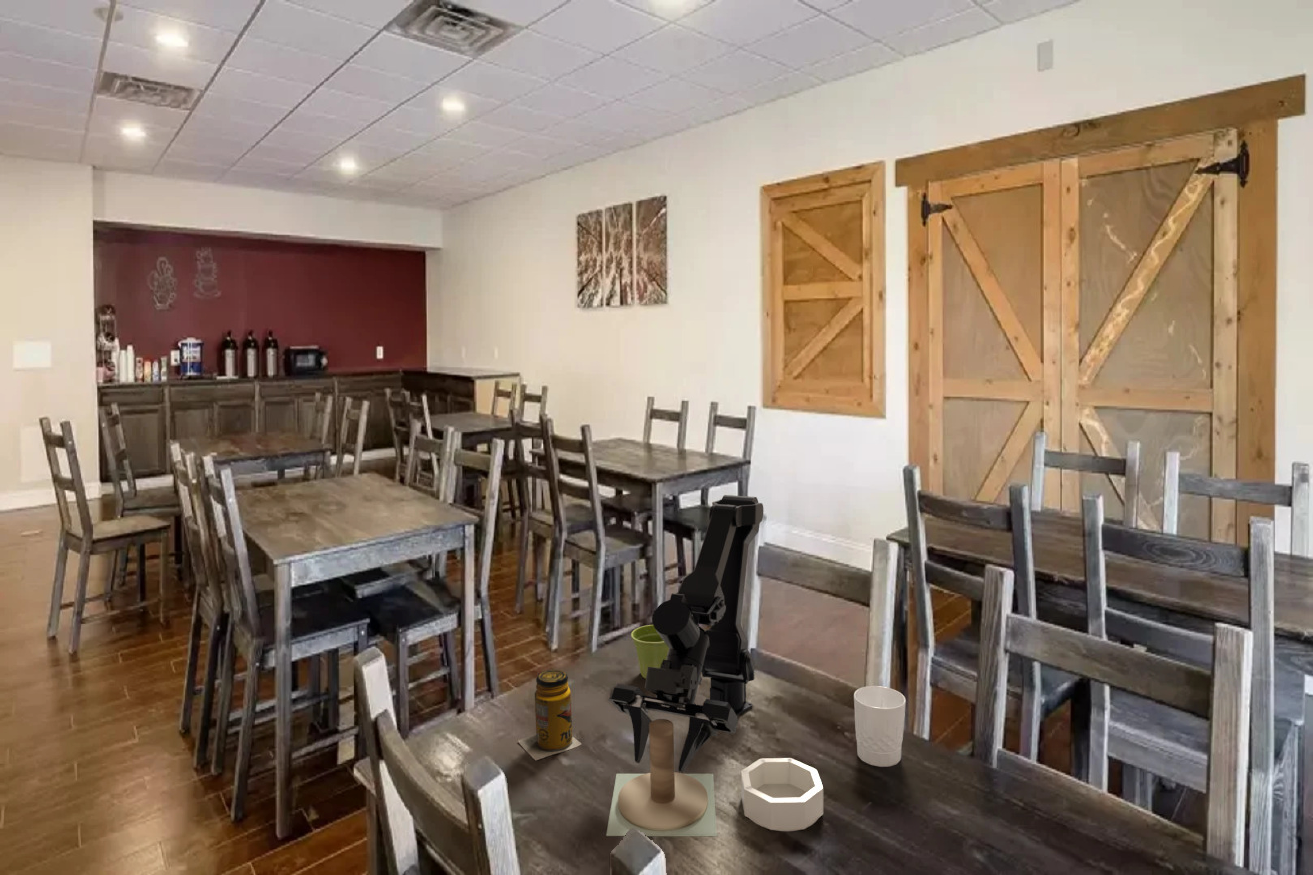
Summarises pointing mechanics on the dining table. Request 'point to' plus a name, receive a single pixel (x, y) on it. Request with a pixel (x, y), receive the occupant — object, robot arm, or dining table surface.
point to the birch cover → (662, 788)
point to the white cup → (879, 725)
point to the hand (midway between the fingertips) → (658, 767)
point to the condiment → (551, 716)
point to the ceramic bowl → (781, 794)
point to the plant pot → (649, 648)
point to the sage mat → (699, 828)
